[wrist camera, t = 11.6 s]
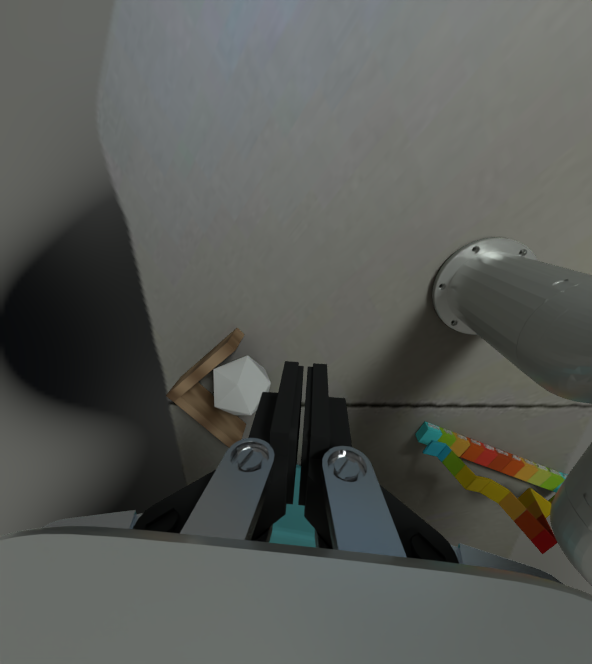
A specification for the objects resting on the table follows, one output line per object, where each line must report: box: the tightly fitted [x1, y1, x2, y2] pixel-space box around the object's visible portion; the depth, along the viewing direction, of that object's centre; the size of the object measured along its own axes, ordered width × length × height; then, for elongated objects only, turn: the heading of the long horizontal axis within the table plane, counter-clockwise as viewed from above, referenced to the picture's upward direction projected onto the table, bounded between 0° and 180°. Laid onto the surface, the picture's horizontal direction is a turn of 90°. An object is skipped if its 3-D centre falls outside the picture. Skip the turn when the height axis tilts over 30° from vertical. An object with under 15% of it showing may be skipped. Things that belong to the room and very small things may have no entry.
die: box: [213, 356, 271, 415], centre depth 43 cm, size 8×9×10 cm
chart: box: [415, 422, 568, 554], centre depth 43 cm, size 30×3×15 cm, turn 69°
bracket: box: [166, 328, 246, 448], centre depth 45 cm, size 11×19×5 cm, turn 177°
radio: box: [269, 465, 316, 548], centre depth 52 cm, size 34×10×15 cm, turn 171°
